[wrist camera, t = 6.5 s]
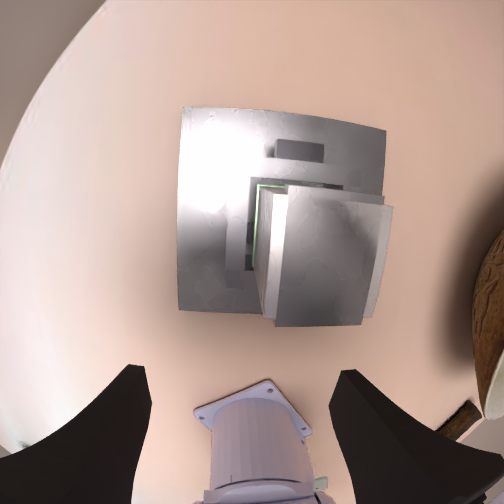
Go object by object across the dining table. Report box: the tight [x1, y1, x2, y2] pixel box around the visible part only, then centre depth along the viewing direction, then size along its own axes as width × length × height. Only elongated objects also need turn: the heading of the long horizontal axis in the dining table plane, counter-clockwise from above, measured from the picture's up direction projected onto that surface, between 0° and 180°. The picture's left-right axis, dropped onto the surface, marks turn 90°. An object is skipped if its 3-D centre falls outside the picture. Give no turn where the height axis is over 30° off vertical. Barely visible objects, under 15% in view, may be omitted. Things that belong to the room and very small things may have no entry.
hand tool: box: [438, 401, 482, 441], centre depth 26 cm, size 19×4×5 cm, turn 136°
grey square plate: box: [177, 107, 386, 314], centre depth 16 cm, size 13×13×4 cm
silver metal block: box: [251, 184, 393, 327], centre depth 12 cm, size 5×4×6 cm
